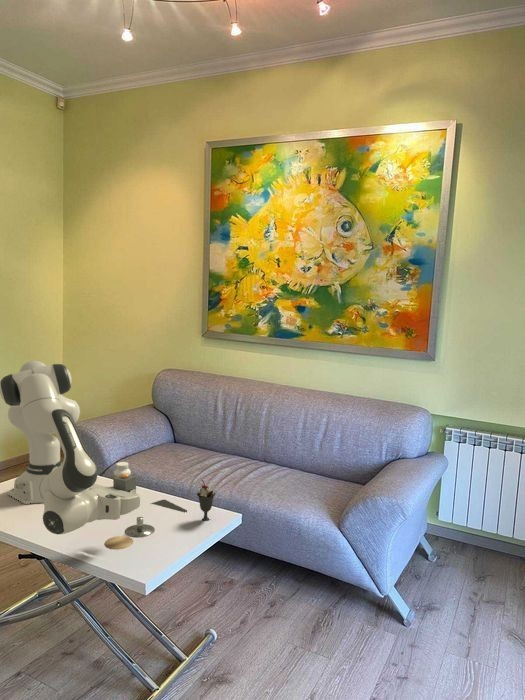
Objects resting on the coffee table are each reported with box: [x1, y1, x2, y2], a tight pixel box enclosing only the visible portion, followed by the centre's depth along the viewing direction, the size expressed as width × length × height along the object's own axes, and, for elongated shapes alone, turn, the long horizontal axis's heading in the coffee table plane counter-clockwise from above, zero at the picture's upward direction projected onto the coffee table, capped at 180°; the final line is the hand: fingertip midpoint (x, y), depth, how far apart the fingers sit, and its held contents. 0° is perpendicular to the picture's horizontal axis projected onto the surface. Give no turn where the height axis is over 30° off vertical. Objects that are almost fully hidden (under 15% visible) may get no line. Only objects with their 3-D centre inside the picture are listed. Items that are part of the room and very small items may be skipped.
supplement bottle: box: [113, 461, 132, 478], centre depth 204 cm, size 7×7×13 cm
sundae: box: [196, 479, 216, 522], centre depth 182 cm, size 7×7×15 cm
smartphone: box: [150, 499, 188, 513], centre depth 193 cm, size 7×1×15 cm
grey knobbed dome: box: [124, 516, 156, 538], centre depth 172 cm, size 10×10×5 cm
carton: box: [112, 474, 137, 492], centre depth 164 cm, size 5×5×11 cm
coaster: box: [104, 535, 134, 550], centre depth 164 cm, size 9×9×1 cm
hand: (126, 489), depth 164 cm, fingers closed on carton, 5 cm apart
